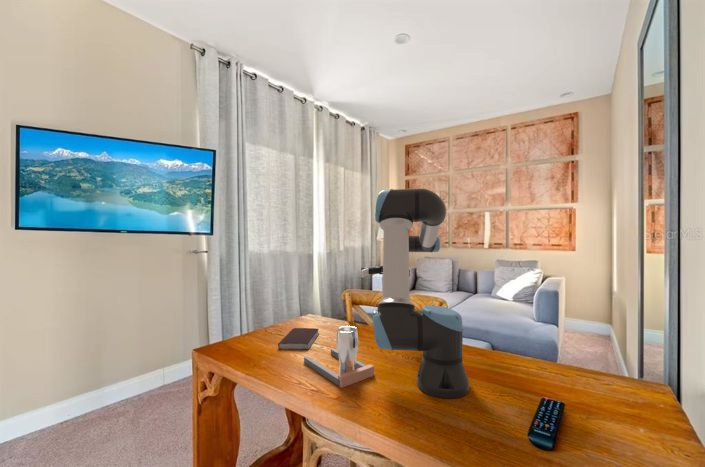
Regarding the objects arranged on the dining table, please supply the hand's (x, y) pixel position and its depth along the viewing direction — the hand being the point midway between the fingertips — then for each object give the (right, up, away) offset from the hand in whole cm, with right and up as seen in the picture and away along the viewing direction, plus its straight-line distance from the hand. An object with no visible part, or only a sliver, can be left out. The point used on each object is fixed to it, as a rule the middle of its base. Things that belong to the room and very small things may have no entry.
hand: (378, 274), depth 122 cm
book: (-32, -31, +15) cm, 47 cm away
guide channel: (-15, -30, -13) cm, 36 cm away
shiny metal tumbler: (-12, -31, -17) cm, 37 cm away
